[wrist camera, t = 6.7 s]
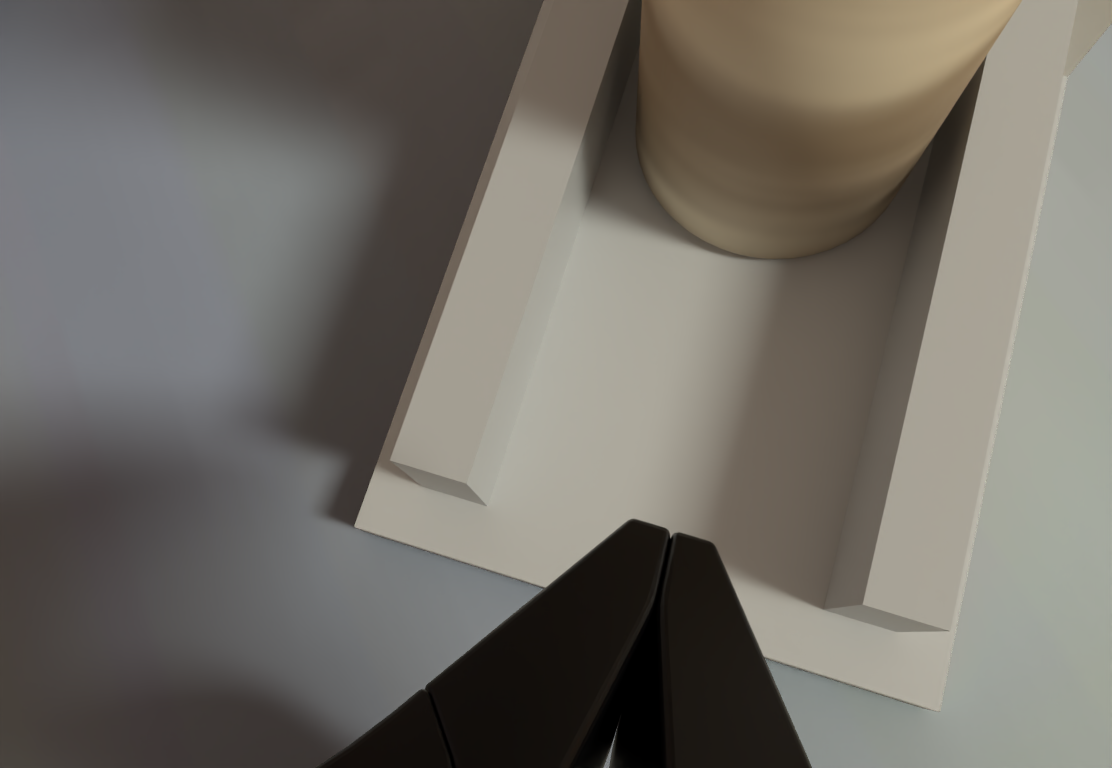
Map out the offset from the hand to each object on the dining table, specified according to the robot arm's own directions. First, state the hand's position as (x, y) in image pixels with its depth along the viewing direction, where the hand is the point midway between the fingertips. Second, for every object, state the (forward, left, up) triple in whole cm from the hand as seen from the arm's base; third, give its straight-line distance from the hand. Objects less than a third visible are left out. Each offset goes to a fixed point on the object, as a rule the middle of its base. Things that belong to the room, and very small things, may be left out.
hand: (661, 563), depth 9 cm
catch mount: (+6, +7, -7) cm, 11 cm away
